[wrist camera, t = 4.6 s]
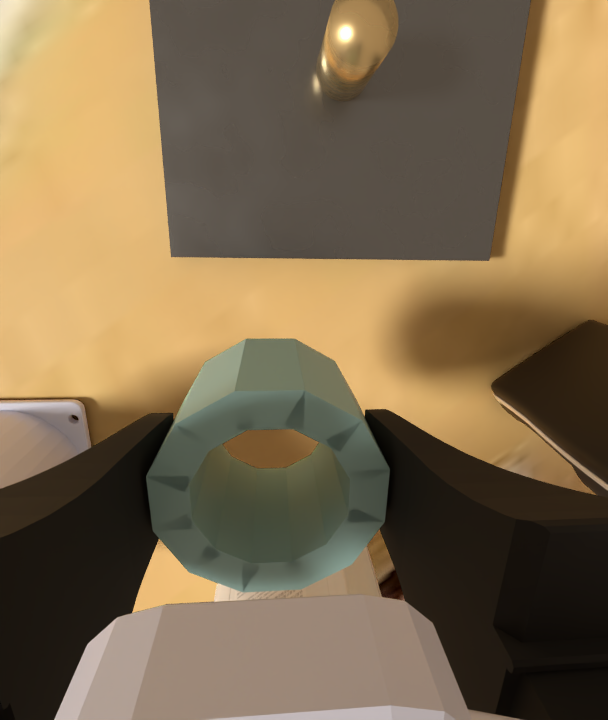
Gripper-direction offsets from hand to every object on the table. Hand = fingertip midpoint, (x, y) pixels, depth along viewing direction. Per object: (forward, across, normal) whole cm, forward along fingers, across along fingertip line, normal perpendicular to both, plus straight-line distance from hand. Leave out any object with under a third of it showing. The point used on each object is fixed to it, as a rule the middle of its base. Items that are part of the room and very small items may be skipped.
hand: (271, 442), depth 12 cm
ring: (+1, 0, 0) cm, 1 cm away
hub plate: (+10, -3, -12) cm, 16 cm away
